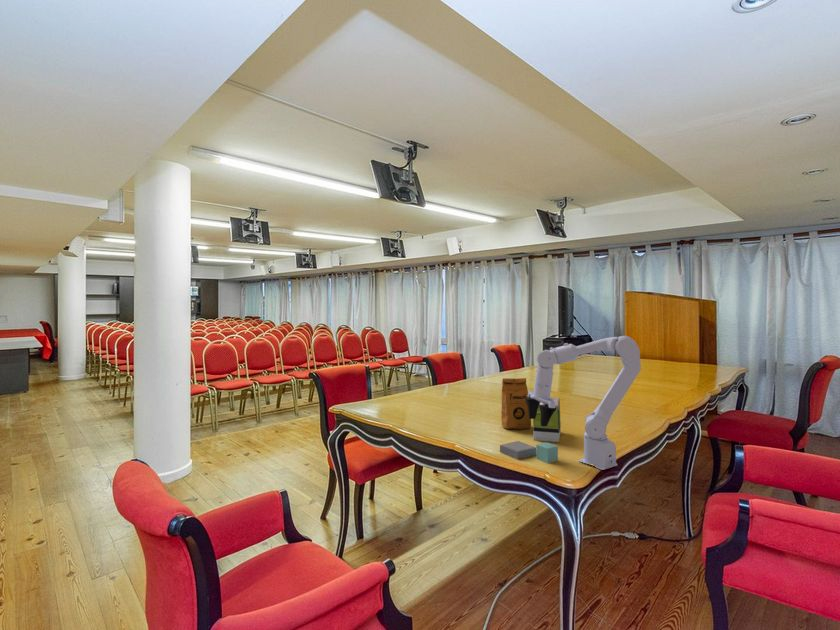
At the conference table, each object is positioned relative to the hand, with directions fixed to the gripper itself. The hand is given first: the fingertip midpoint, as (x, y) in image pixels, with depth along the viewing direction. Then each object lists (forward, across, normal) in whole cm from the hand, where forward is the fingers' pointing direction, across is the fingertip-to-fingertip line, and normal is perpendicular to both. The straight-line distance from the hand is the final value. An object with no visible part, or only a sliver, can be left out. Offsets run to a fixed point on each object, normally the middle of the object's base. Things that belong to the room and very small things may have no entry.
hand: (537, 422), depth 144 cm
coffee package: (+14, -34, +12) cm, 39 cm away
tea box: (+12, -19, +18) cm, 29 cm away
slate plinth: (+13, -4, -4) cm, 14 cm away
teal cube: (+12, +5, +3) cm, 13 cm away
